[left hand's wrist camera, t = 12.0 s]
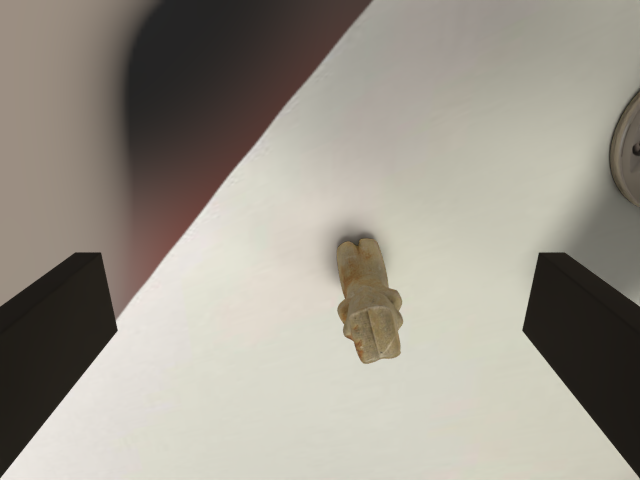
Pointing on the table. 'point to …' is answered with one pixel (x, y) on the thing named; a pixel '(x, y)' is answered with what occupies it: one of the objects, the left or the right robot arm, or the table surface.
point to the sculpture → (368, 302)
